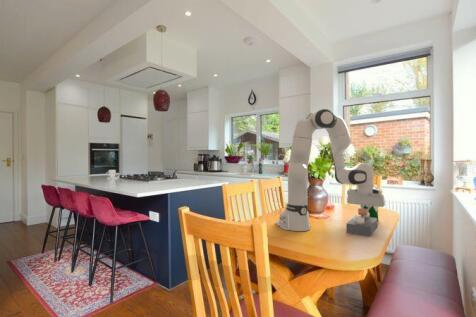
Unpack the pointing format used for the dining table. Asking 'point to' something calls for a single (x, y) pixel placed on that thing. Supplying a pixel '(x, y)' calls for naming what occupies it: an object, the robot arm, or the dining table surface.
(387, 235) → the dining table surface
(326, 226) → the dining table surface
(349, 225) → the console
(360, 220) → the white knob
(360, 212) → the terracotta knob
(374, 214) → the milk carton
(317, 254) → the dining table surface
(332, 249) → the dining table surface
